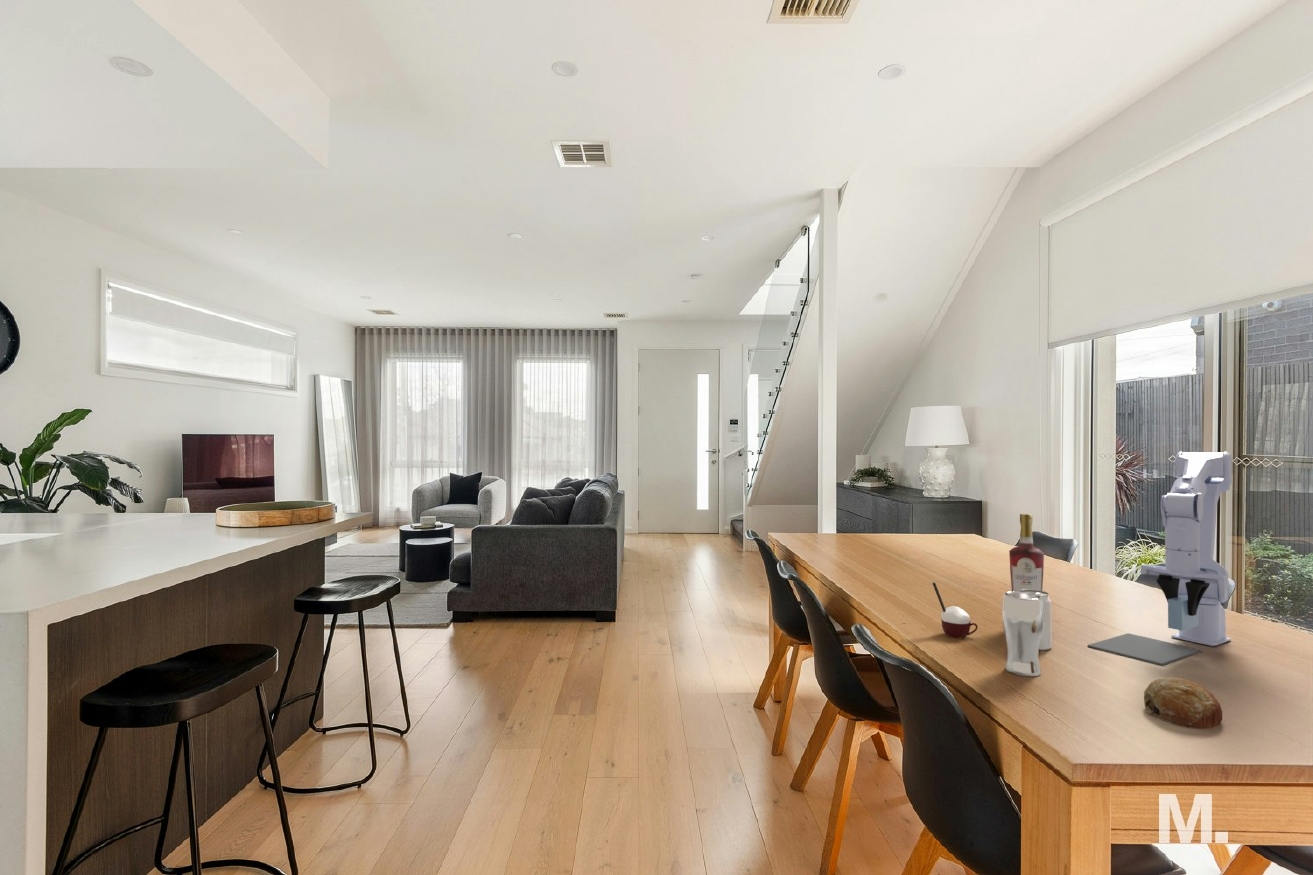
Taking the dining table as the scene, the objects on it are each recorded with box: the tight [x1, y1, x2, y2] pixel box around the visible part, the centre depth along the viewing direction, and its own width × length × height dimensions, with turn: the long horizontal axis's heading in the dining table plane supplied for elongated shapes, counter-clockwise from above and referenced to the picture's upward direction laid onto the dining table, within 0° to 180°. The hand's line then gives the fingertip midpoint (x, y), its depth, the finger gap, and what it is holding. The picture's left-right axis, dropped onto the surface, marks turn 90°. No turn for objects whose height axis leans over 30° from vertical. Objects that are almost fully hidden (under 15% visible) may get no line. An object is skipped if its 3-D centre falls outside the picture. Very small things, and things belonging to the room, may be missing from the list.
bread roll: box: [1143, 677, 1223, 730], centre depth 104 cm, size 10×10×8 cm
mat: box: [1087, 632, 1203, 666], centre depth 139 cm, size 18×14×1 cm
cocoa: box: [932, 581, 978, 639], centre depth 149 cm, size 10×6×12 cm, turn 41°
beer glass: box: [1002, 591, 1043, 678], centre depth 125 cm, size 7×7×15 cm
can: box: [1020, 590, 1052, 651], centre depth 141 cm, size 6×6×12 cm
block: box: [1167, 595, 1198, 631], centre depth 135 cm, size 8×2×6 cm, turn 121°
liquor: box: [1008, 513, 1045, 592], centre depth 154 cm, size 7×7×28 cm
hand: (1182, 613), depth 135 cm, fingers closed on block, 3 cm apart
